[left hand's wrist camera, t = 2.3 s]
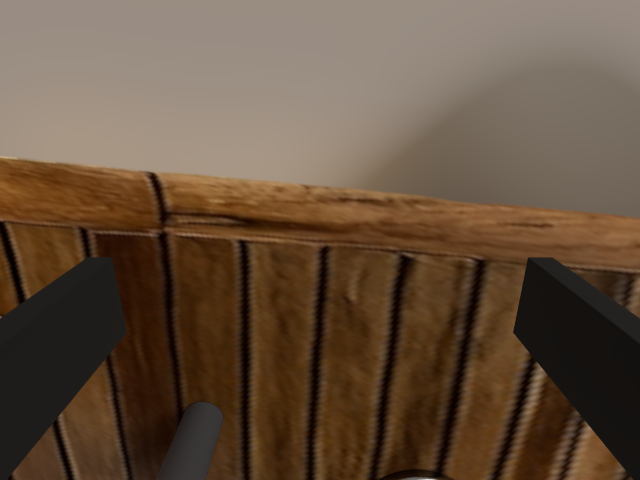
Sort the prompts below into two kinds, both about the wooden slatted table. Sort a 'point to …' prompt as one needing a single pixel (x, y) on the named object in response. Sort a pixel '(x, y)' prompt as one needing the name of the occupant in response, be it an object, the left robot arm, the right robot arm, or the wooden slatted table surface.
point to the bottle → (193, 444)
